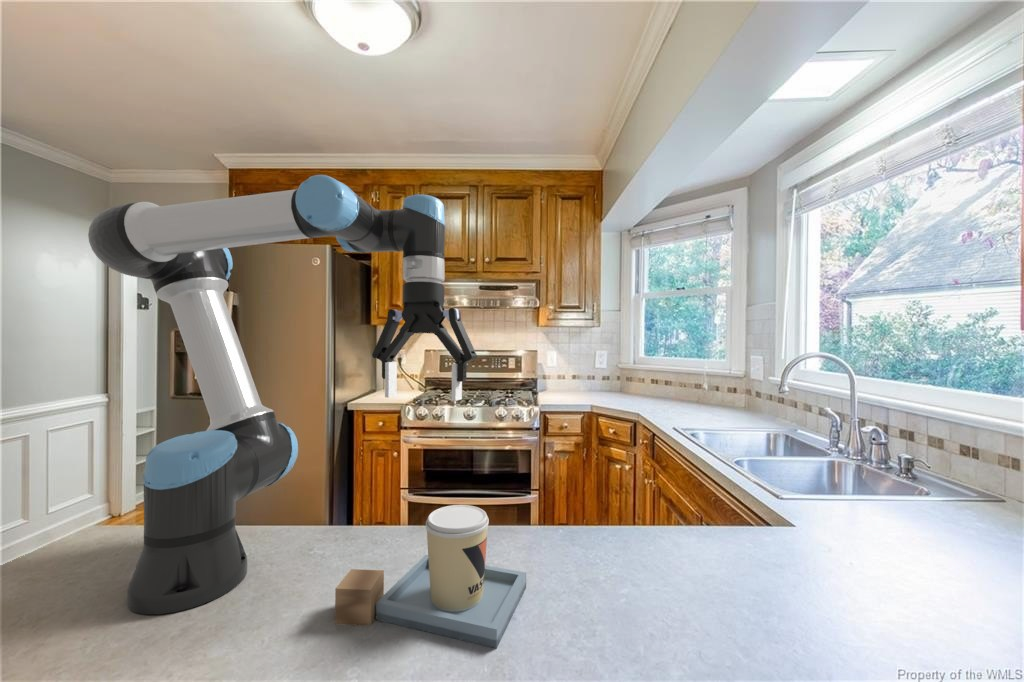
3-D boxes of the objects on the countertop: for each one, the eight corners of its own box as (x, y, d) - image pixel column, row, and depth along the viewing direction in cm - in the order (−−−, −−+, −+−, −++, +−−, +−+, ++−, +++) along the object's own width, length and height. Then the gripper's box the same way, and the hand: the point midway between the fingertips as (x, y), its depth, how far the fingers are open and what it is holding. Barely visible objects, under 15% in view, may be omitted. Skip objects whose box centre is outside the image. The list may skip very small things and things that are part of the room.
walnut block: (335, 624, 58) (335, 588, 58) (350, 602, 63) (351, 569, 63) (370, 626, 58) (370, 589, 58) (383, 604, 63) (383, 570, 63)
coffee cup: (478, 620, 58) (478, 532, 58) (414, 610, 60) (415, 525, 60) (495, 582, 67) (495, 506, 67) (439, 575, 69) (440, 501, 69)
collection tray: (375, 619, 59) (376, 602, 59) (425, 568, 72) (425, 554, 72) (496, 648, 54) (496, 629, 54) (526, 587, 67) (526, 572, 67)
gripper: (353, 282, 78) (352, 397, 78) (479, 277, 70) (478, 404, 70) (378, 287, 85) (377, 393, 85) (494, 283, 77) (493, 398, 77)
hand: (422, 398), depth 77 cm, fingers open, 13 cm apart
